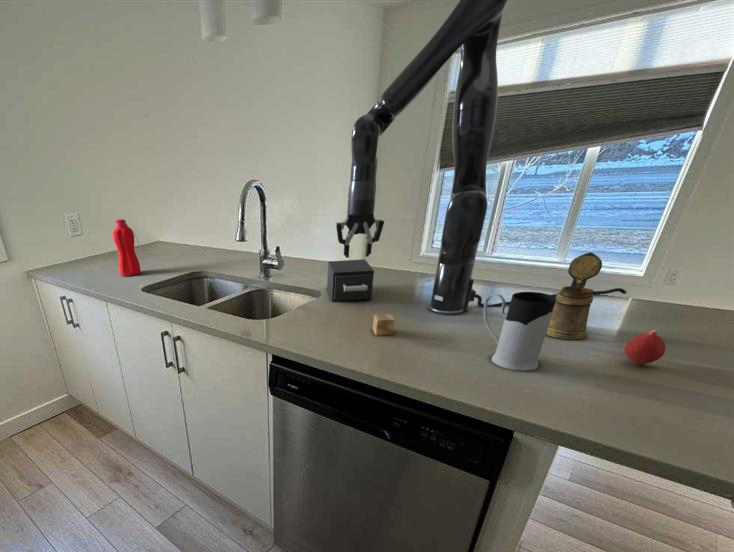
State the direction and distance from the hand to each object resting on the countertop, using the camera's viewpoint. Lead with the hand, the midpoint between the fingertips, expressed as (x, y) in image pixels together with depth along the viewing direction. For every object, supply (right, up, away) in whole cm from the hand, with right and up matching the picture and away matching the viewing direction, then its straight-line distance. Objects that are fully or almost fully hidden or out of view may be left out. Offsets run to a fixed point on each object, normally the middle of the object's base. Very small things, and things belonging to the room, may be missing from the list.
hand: (357, 256), depth 124 cm
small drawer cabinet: (+3, -8, +18) cm, 19 cm away
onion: (+46, -36, -39) cm, 71 cm away
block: (+2, -25, -14) cm, 29 cm away
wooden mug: (+46, -26, -22) cm, 57 cm away
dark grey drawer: (+2, -9, +13) cm, 16 cm away
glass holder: (+23, -34, -32) cm, 52 cm away
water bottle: (-86, +14, +71) cm, 112 cm away
